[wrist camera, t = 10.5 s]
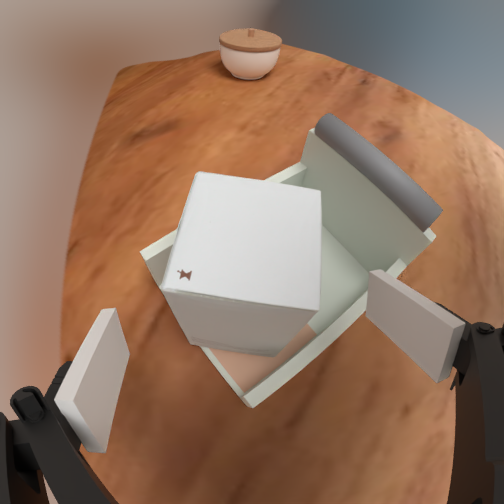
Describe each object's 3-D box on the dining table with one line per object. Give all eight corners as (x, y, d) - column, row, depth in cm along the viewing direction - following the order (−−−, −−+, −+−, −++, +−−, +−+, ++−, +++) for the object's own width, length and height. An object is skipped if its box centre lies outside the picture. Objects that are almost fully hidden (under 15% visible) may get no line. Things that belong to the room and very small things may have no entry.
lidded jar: (208, 78, 45) (208, 32, 37) (233, 58, 50) (235, 18, 42) (265, 91, 44) (271, 42, 36) (283, 69, 49) (290, 28, 41)
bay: (300, 192, 33) (327, 104, 23) (387, 281, 29) (455, 214, 18) (154, 281, 27) (115, 199, 16) (247, 406, 22) (265, 411, 11)
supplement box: (276, 359, 23) (322, 317, 12) (187, 345, 23) (153, 289, 12) (285, 279, 27) (325, 188, 16) (205, 266, 27) (193, 166, 16)
